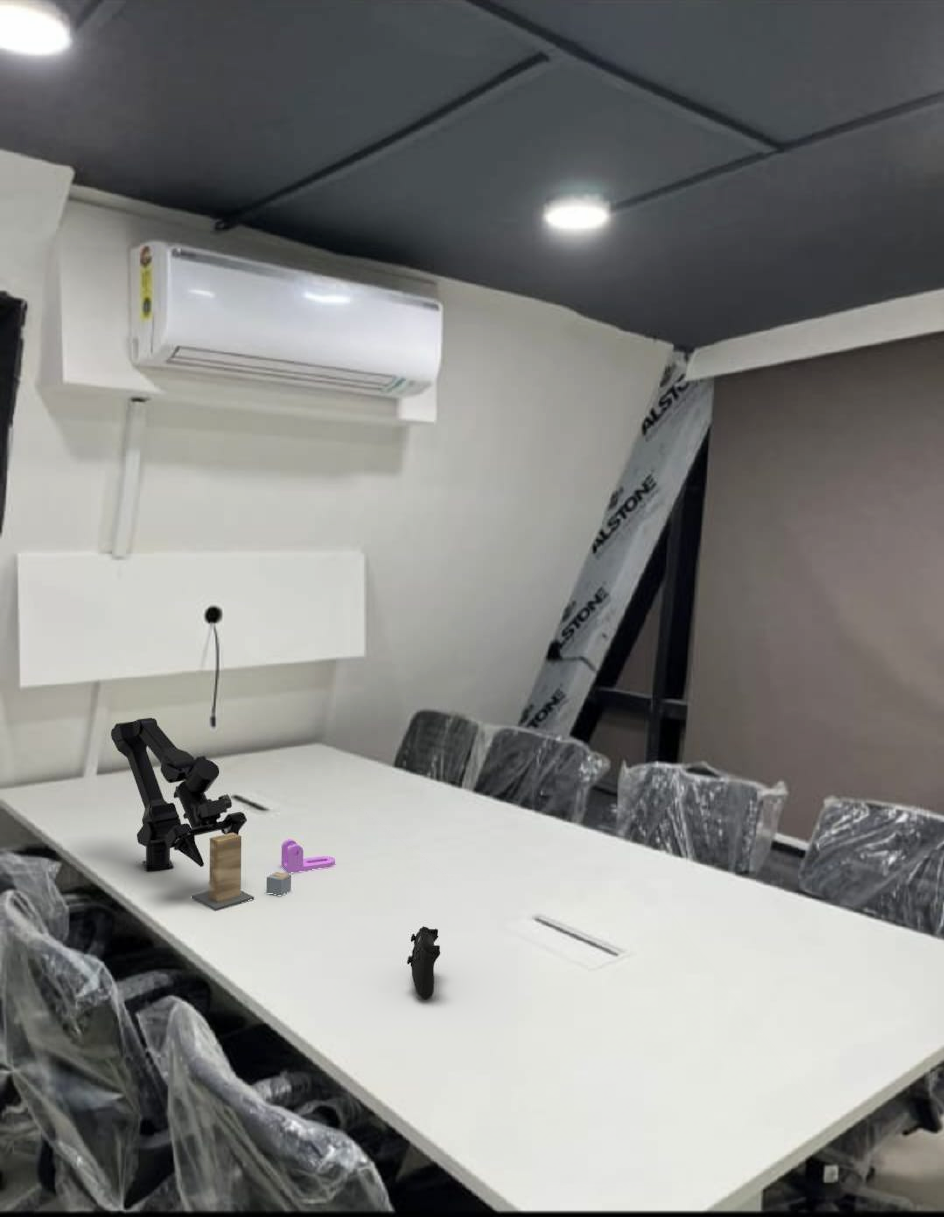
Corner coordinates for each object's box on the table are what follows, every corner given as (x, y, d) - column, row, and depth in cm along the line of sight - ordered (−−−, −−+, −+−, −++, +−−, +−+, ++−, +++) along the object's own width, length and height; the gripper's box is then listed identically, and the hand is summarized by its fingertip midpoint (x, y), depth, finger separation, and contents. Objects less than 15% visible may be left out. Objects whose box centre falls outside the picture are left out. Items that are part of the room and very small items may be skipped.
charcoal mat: (191, 898, 227) (191, 895, 227) (229, 887, 234) (229, 884, 234) (215, 910, 220) (215, 908, 220) (254, 899, 227) (254, 896, 227)
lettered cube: (266, 893, 231) (266, 876, 231) (276, 888, 235) (276, 871, 234) (280, 896, 229) (281, 879, 229) (290, 891, 233) (291, 873, 233)
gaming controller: (405, 967, 194) (406, 918, 193) (436, 967, 195) (437, 918, 194) (406, 1002, 180) (408, 949, 179) (440, 1002, 181) (441, 948, 180)
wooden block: (209, 898, 225) (209, 837, 224) (232, 891, 230) (232, 832, 228) (217, 902, 223) (218, 841, 222) (240, 895, 227) (241, 836, 226)
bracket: (288, 874, 244) (288, 846, 244) (281, 867, 249) (281, 840, 249) (338, 867, 251) (338, 840, 250) (330, 860, 255) (330, 833, 255)
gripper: (172, 791, 222) (197, 852, 216) (243, 778, 236) (269, 834, 229) (153, 817, 229) (178, 877, 222) (224, 803, 242) (249, 859, 235)
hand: (220, 861), depth 227 cm, fingers open, 9 cm apart
